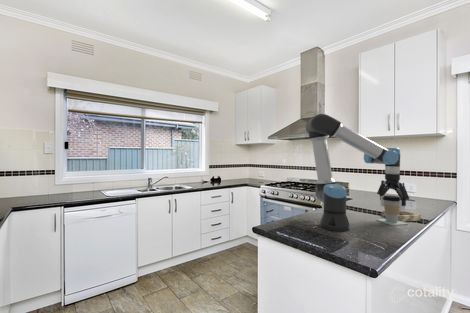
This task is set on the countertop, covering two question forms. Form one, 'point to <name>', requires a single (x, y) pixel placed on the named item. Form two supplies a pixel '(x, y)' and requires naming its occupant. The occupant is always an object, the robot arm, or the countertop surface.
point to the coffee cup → (391, 208)
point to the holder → (407, 216)
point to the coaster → (392, 222)
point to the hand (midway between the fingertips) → (392, 208)
